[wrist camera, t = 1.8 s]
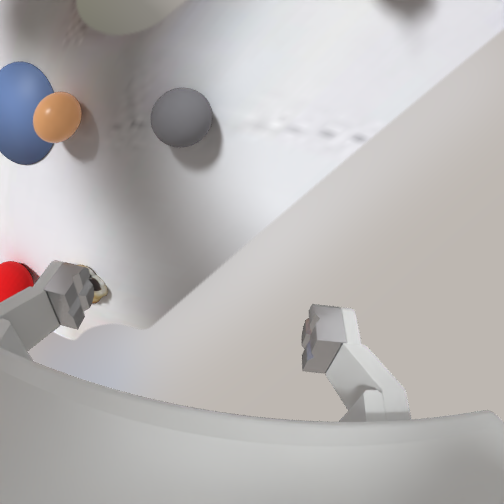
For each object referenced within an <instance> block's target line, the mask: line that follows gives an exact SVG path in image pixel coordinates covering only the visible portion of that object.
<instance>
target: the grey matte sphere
mask: <svg viewBox="0 0 504 504" xmlns="http://www.w3.org/2000/svg"><path fill="white" fill-rule="evenodd" d="M211 123H212V110H211V106H210V104H209V102H208V100H207V99H206V98H205V97H204V96H203V95H202V94H201V93H199V92H198V91H196V90H193V89H189V88H176V89H173V90H170V91H168V92H166V93H165V94H163V95H162V96H161V97H160V98H159V99H158V100H157V102H156V103H155V105H154V107H153V109H152V113H151V125H152V128H153V131H154V133H155V134H156V136H157V137H158V138H159V139H160V140H161V141H162V142H164V143H165V144H167V145H170V146H173V147H187V146H191V145H193V144H195V143H197V142H199V141H200V140H201V139H202V138H203V137H204V136H205V135H206V134H207V132H208V131H209V128H210V126H211Z"/></svg>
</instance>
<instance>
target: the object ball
mask: <svg viewBox="0 0 504 504" xmlns="http://www.w3.org/2000/svg"><path fill="white" fill-rule="evenodd" d="M80 121H81V107H80V104H79V102H78V101H77V99H76V98H75V97H74V96H72V95H71V94H69V93H66V92H55V93H52V94H50V95H48V96H46V97H45V98H44V99H42V100H41V102H40V103H39V104H38V105H37V107H36V109H35V112H34V115H33V126H34V130H35V132H36V134H37V135H38V136H39V137H40V138H41V139H42V140H44V141H46V142H49V143H59V142H62V141H65V140H66V139H68V138H69V137H71V136H72V135H73V134H74V133H75V131H76V130H77V128H78V126H79V124H80Z"/></svg>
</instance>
